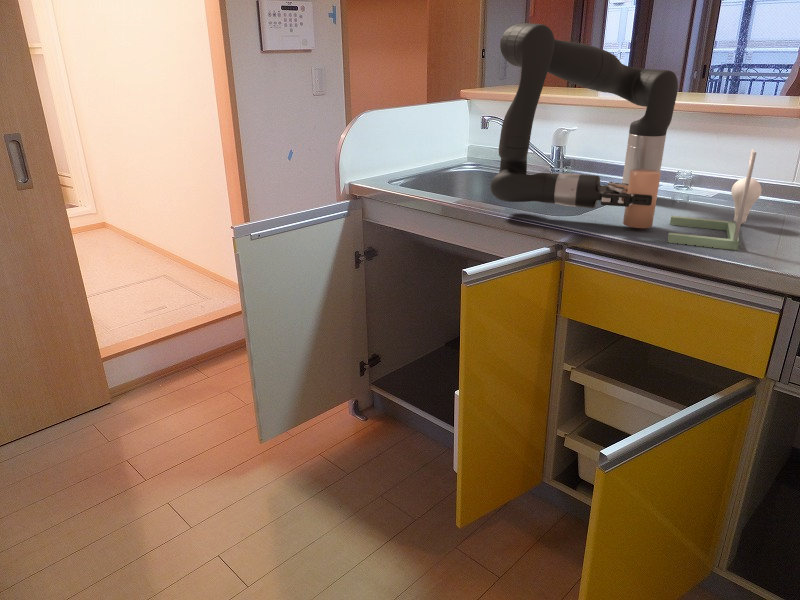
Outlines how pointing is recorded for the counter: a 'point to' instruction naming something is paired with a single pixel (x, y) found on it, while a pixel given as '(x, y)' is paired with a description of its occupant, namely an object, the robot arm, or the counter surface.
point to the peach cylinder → (646, 185)
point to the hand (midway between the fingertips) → (652, 197)
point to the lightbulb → (751, 198)
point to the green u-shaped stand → (714, 224)
